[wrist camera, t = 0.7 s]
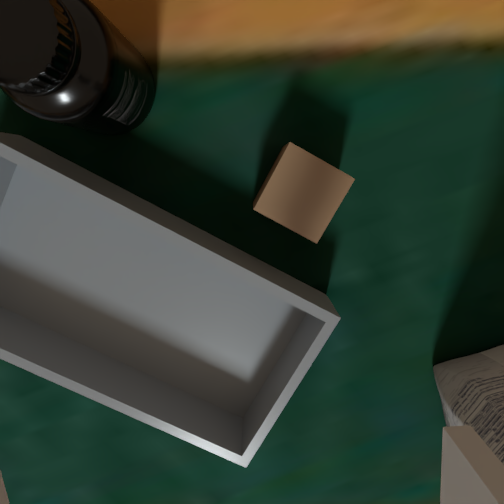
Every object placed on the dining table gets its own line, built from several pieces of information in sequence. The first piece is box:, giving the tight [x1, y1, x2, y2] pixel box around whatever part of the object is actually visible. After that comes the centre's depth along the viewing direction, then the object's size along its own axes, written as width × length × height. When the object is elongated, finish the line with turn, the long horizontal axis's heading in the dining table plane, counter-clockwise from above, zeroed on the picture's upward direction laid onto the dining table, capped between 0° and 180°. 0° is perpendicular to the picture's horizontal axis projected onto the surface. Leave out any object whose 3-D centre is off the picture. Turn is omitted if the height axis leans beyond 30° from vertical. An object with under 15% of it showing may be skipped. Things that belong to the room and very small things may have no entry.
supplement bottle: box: [0, 0, 155, 135], centre depth 21 cm, size 7×7×12 cm
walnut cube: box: [253, 142, 355, 244], centre depth 26 cm, size 5×5×5 cm
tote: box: [0, 132, 341, 468], centre depth 28 cm, size 28×15×5 cm, turn 62°
